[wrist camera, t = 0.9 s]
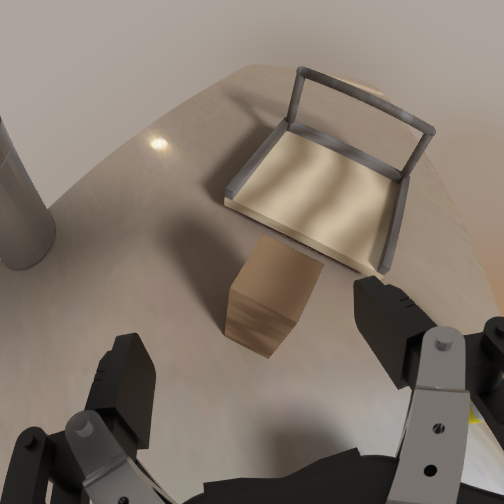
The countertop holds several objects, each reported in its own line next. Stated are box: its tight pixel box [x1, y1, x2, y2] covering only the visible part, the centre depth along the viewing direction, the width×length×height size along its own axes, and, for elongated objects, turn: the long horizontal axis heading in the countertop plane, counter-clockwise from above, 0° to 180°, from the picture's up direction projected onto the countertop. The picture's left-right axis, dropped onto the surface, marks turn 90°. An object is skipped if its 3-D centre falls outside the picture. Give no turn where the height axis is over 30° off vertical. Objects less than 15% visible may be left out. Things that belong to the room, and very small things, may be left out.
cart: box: [224, 66, 436, 280], centre depth 35 cm, size 20×17×14 cm
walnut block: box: [224, 234, 324, 359], centre depth 27 cm, size 5×5×12 cm
